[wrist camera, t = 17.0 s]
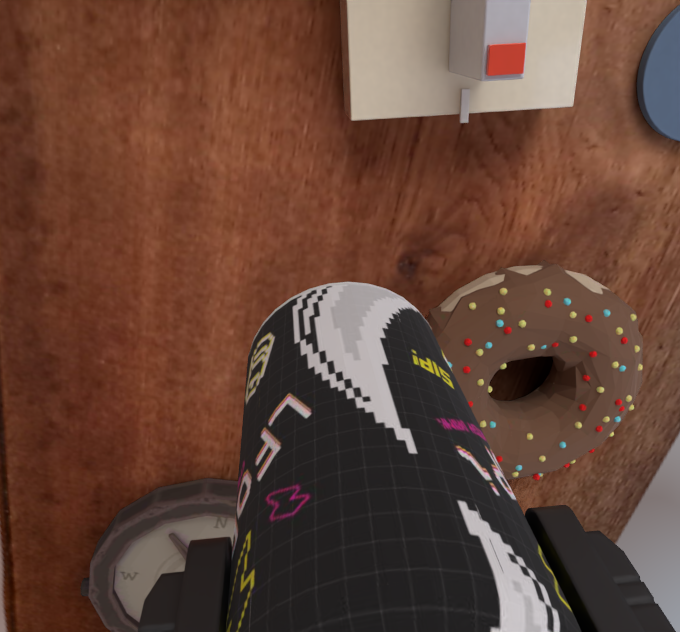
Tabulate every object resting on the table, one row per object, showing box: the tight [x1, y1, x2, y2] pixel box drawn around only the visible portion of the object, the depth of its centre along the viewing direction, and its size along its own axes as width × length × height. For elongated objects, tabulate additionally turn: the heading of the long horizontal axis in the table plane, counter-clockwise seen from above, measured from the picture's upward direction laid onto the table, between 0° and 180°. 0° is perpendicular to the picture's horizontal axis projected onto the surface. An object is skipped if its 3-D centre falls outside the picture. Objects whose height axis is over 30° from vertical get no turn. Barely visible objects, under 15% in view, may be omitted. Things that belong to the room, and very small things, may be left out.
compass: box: [81, 478, 238, 632], centre depth 40 cm, size 20×16×2 cm
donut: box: [426, 260, 643, 480], centre depth 33 cm, size 14×14×5 cm
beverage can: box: [226, 282, 581, 632], centre depth 13 cm, size 6×6×12 cm
